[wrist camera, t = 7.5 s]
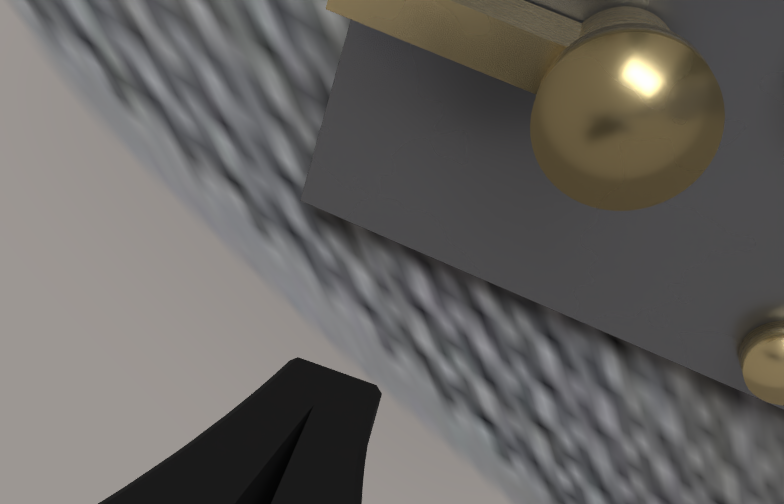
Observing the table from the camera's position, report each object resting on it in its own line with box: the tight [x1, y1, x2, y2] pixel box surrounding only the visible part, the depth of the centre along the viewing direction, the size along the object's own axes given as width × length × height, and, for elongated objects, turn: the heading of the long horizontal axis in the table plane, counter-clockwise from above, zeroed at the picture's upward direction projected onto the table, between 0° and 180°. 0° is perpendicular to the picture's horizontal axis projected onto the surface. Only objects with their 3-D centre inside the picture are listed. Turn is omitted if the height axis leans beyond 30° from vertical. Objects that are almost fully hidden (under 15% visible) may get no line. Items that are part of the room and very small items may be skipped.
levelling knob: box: [326, 0, 725, 211], centre depth 13 cm, size 7×3×4 cm, turn 72°
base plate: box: [300, 0, 784, 410], centre depth 15 cm, size 16×10×3 cm, turn 72°
